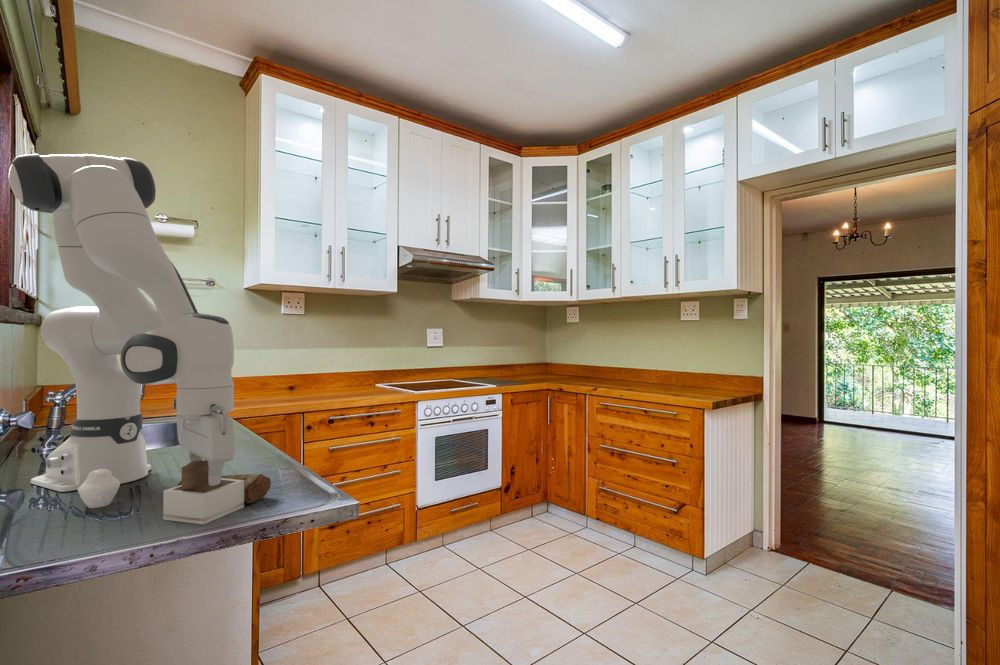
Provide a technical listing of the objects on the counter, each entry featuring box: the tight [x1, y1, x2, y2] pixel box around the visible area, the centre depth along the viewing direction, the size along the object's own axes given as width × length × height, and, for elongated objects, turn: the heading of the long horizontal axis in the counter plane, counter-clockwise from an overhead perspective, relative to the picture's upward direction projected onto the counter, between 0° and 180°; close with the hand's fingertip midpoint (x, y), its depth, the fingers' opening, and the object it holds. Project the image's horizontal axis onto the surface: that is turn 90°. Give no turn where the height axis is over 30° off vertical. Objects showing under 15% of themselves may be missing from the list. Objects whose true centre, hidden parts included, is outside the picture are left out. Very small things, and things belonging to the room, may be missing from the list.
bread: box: [176, 473, 272, 505], centre depth 95 cm, size 6×19×6 cm, turn 76°
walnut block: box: [181, 459, 221, 493], centre depth 87 cm, size 5×5×8 cm
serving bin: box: [162, 478, 245, 525], centre depth 87 cm, size 9×9×5 cm
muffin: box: [77, 469, 121, 509], centre depth 91 cm, size 6×6×7 cm
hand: (205, 479), depth 87 cm, fingers open, 8 cm apart
